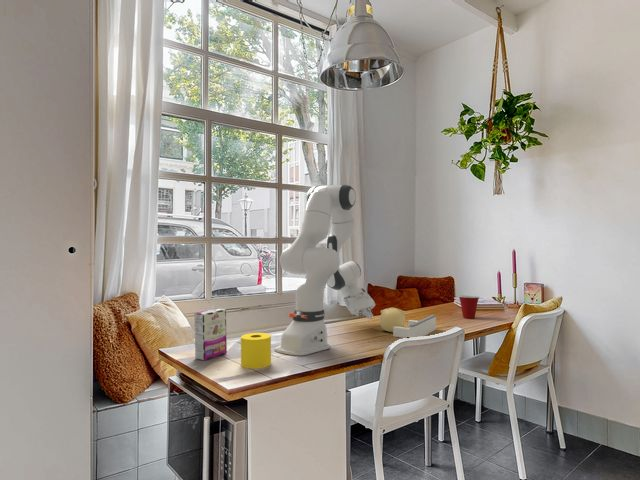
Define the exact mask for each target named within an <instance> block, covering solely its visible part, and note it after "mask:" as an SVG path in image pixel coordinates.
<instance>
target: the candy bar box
mask: <svg viewBox="0 0 640 480" xmlns="http://www.w3.org/2000/svg"><path fill="white" fill-rule="evenodd" d="M194 343H195V344H194V345H195V346H194V347H195V348H194V350H195V351H194V352H195V353H194V354H195V359H196V360H199V361H200V360H201V361H208V360H211V359H214V358H216V357H219V356H222V355H225V354H227V353H228V352H227V350H228V348H227V347H228V346H227V343H228V342H227V309H225V308H215V309H214V308H213V309H209V310H204V311H199V312H195V313H194Z"/></svg>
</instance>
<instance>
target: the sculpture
mask: <svg viewBox="0 0 640 480" xmlns="http://www.w3.org/2000/svg"><path fill="white" fill-rule="evenodd" d="M405 313H406V311H405V310H402V309H400V308H396V307H389V308H388V307H387V308H384V309H381V310H380V316H379V324H380V327H381V329H382V330H383V331H386V332H390V333H393V327H395V326H396V327H405V326H406V316H405ZM405 328H406V327H405Z"/></svg>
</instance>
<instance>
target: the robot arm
mask: <svg viewBox="0 0 640 480" xmlns="http://www.w3.org/2000/svg"><path fill="white" fill-rule="evenodd" d="M356 199H357V197H356V191H355V189H354V188H353V187H352V186H351V185H347V184H343V185H340V184H338V185H337V184H323V185H319V186H318V185H317V186H316V185H315V186H313V187H311V188H309V190H308V191H307V193H306V207H305V210H304V213H303V218H302V219H303V221H302V224H301V228H300V231H299V233H298V235H297V237H296V239H294V241H293V242H292V243H291V244H290V245H289V246H288V247H287V248H285V249H283V251H282V252H281V255H280V257H279V264H280V267H281V269H282V270H283V271H284V272H286V273H290V274H293V275H303V276H304V275H306V281H305V283H303V284H301V285H299V286H297V289H296V290H295V309H294V311H293V312H289V313H288V317H289V318H291V319H292V321H291V322H290V323H289V325H288V326H287V328H286V329H285V330H284V331H283V332H282V334H281V340H280V344H279V345H278V346H275V347H274V352H277V353H280V354H285V355H290V356H306V355H310V354H313V353H317V352H321V351H324V350H328V349H331V346H330V344H329V342H328V331H327V330H328V329H327V325H326V324H325V314H326V313H325V309H324V295H325V294H324V293H325V288H326V285H327V286H328V287H329V288H330V289H332V290H334V291H335V290H336V291H338V292H339V293H340V295H341V297H342V298H343V302H344V305H345V307H346V308H347V310H348V311H349V313H350V314H352V315H357V314H362V315H363V316H365V317H366V318H367V319H372V318H373V317H374V314H373V313H372V310H373V308H375V306H376V303H375V301H374V299H373V298H372V297H371V296H370V294H369V293H368V292H367V290H366V289H365V288H362V287H360V286H358V285H357V284H356V283H355V282H356V281H357V280H358V279H359V278H360V277H361V276H362V275H361V274H362V269H361V267H360V265H359V264H358V263H357V262H356V261H353V260H349V261H347V262H345V263H342V264H341V258H340V252H341V249H342V247H343V245H344V244H345V243H346V242H347V241H348V240H349V239H350V238H351V237H352V236H353V235H354V233H355V231H356V230H355V228H356V224H355V215H354V211H353V206H355V203H356ZM326 238H327V240H326ZM325 240H326V247H322V246H320V247H319V246H317V245H318V244H319V243H321V242H322V241H325ZM316 246H317V247H316Z"/></svg>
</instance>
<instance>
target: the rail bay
mask: <svg viewBox="0 0 640 480" xmlns="http://www.w3.org/2000/svg"><path fill="white" fill-rule="evenodd" d="M407 324H408V325H407V327H396V326H395V327H393V332H392V337H396V338H403V339H408V338H407V337H417V336H423V337H425V336H427V335H428V334H431V333H432V332H434V331H436V330H437V316H436V315H435V314H431V315H429V316H427V317H425V318H422V319H420V320H411V319H409V320H407Z"/></svg>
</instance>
